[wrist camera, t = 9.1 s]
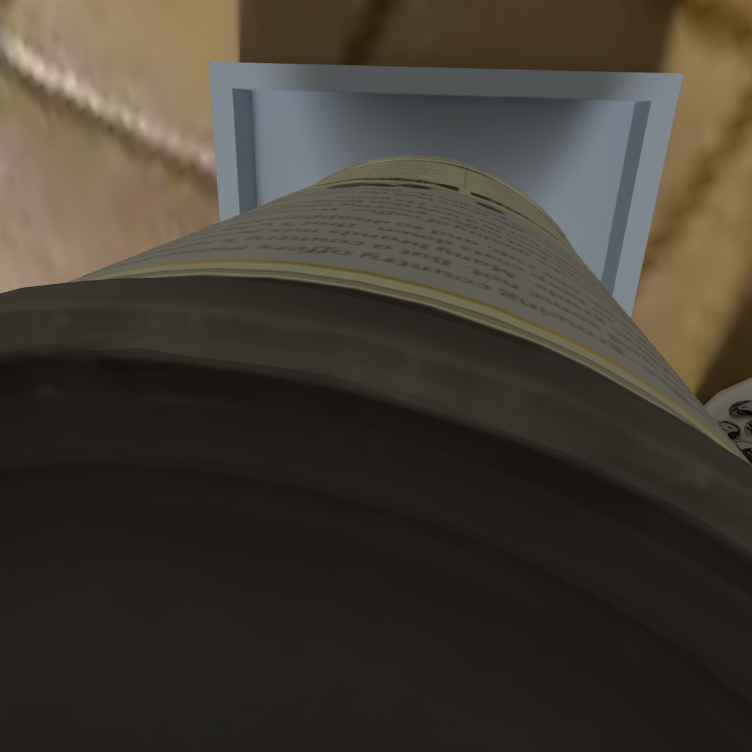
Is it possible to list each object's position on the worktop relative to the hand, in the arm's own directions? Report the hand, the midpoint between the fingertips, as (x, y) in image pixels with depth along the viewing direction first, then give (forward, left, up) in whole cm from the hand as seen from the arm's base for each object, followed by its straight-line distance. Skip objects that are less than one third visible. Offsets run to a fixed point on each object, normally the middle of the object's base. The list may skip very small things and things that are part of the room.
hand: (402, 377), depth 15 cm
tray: (0, 0, -11) cm, 11 cm away
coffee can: (0, 0, -2) cm, 2 cm away
